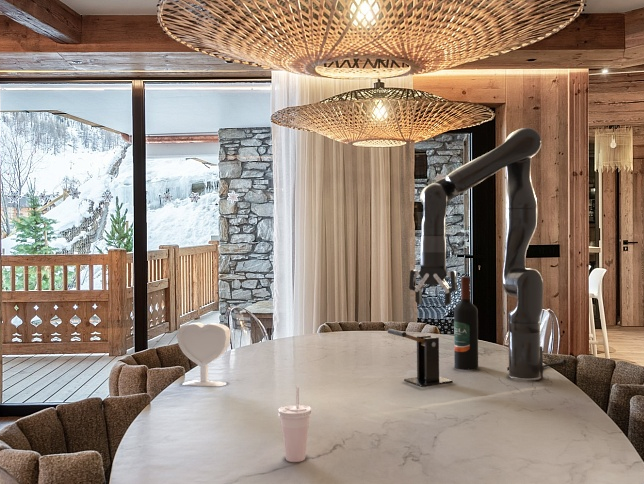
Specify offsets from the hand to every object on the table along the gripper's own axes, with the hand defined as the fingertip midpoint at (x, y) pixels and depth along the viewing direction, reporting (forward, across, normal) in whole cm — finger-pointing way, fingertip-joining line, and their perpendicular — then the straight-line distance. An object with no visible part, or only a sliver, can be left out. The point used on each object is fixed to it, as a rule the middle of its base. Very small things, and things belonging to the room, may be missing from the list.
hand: (432, 305), depth 181 cm
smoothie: (+24, +6, +72) cm, 76 cm away
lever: (+10, +3, +9) cm, 14 cm away
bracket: (+23, 0, +4) cm, 23 cm away
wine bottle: (+22, -6, -19) cm, 30 cm away
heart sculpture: (+24, +62, +28) cm, 72 cm away
